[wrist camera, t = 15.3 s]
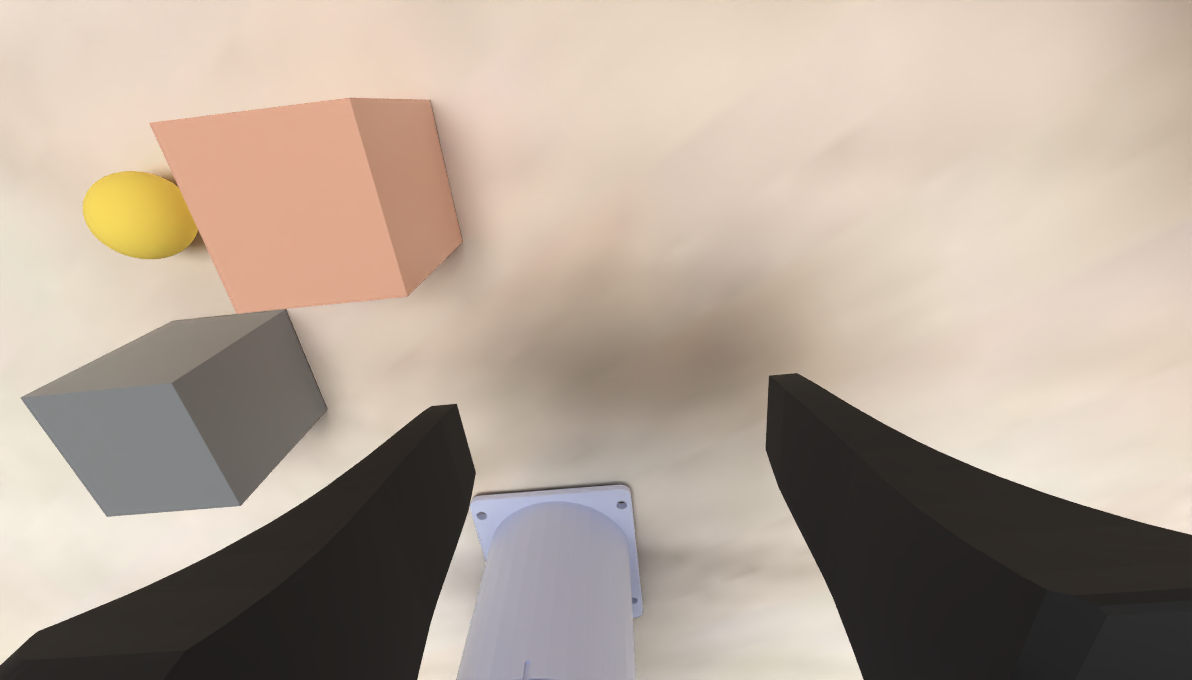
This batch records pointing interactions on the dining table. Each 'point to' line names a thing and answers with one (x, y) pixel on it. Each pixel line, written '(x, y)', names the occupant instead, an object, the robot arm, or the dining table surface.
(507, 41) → the dining table surface
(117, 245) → the ball
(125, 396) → the cover
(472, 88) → the dining table surface
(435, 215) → the cover
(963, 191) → the dining table surface
